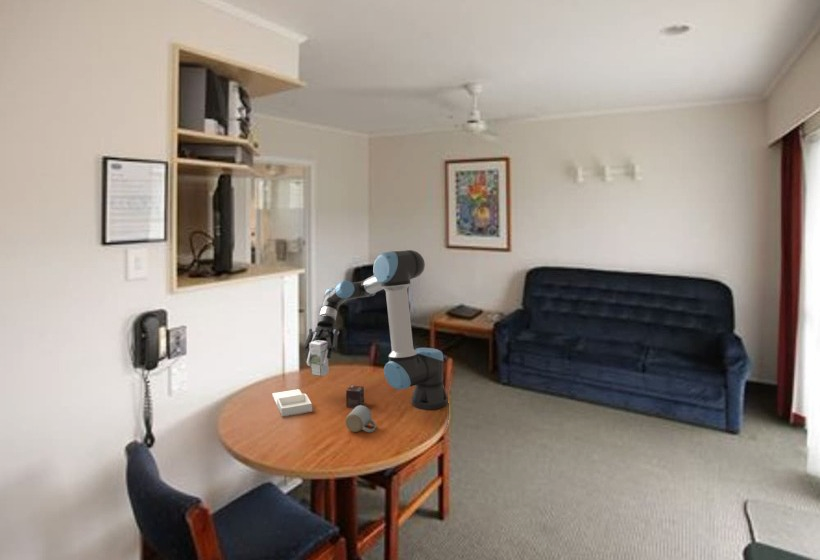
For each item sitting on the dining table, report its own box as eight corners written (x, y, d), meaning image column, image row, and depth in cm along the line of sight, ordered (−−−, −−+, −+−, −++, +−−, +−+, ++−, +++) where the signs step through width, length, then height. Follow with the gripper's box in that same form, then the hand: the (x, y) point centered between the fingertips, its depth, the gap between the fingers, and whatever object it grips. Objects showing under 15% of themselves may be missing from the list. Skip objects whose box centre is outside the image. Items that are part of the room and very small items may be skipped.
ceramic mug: (344, 431, 177) (343, 411, 176) (353, 422, 184) (353, 403, 183) (370, 436, 173) (370, 416, 172) (379, 426, 181) (379, 407, 180)
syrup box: (329, 372, 211) (327, 340, 209) (321, 377, 206) (319, 343, 204) (318, 371, 213) (317, 339, 211) (310, 375, 208) (308, 342, 206)
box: (360, 408, 198) (359, 391, 197) (346, 407, 199) (345, 390, 198) (364, 402, 204) (364, 386, 203) (350, 401, 205) (350, 385, 204)
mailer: (312, 411, 195) (311, 403, 195) (281, 416, 190) (281, 408, 190) (299, 389, 220) (298, 382, 219) (272, 394, 215) (271, 386, 214)
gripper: (350, 323, 220) (340, 369, 207) (309, 323, 224) (297, 367, 210) (346, 314, 215) (336, 360, 201) (304, 314, 218) (291, 359, 204)
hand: (316, 364), depth 205 cm, fingers closed on syrup box, 7 cm apart
